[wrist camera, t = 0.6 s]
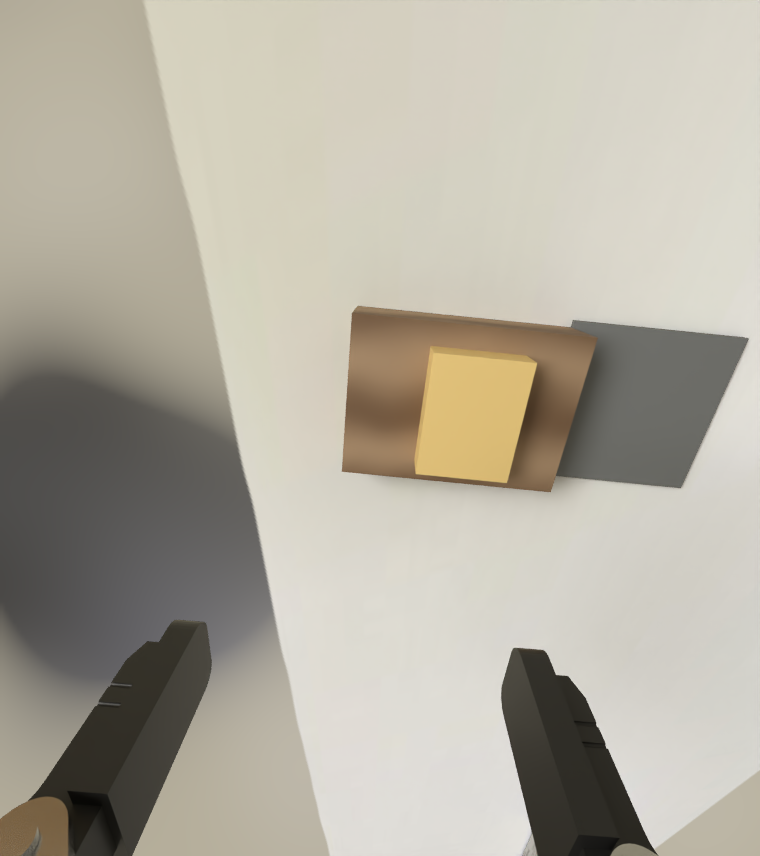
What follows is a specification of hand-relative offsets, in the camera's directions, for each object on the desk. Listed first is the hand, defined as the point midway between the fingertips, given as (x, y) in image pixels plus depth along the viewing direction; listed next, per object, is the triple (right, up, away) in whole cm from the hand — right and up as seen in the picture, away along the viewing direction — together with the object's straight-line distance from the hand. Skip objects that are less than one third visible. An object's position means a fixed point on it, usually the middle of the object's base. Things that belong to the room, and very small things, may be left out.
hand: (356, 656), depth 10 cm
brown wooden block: (+6, +9, +19) cm, 22 cm away
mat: (+19, +7, +20) cm, 29 cm away
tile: (+6, +7, +16) cm, 18 cm away
